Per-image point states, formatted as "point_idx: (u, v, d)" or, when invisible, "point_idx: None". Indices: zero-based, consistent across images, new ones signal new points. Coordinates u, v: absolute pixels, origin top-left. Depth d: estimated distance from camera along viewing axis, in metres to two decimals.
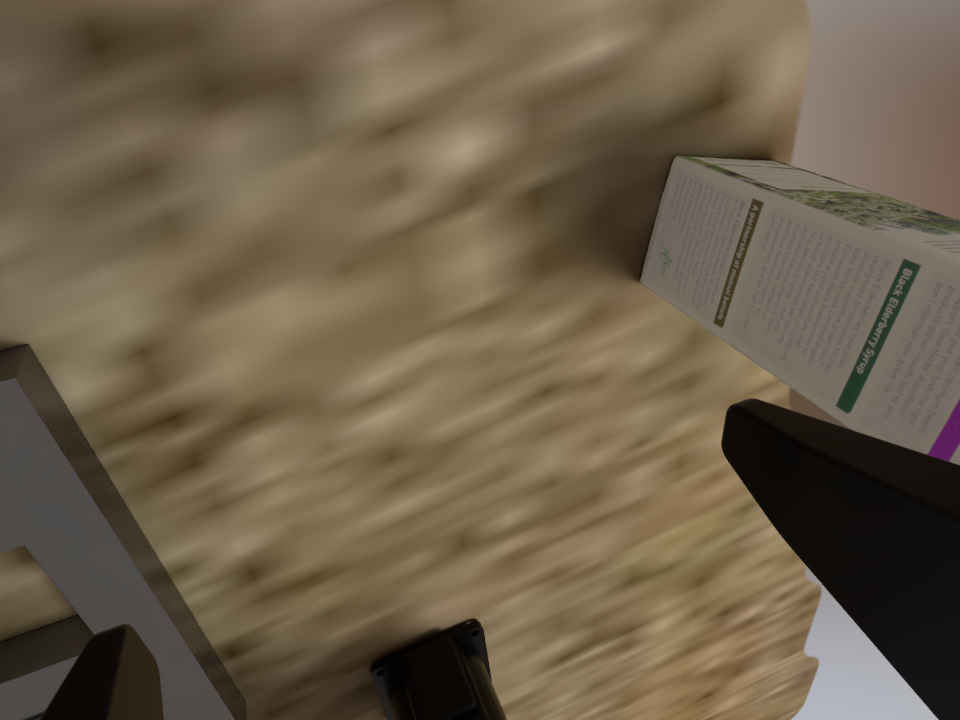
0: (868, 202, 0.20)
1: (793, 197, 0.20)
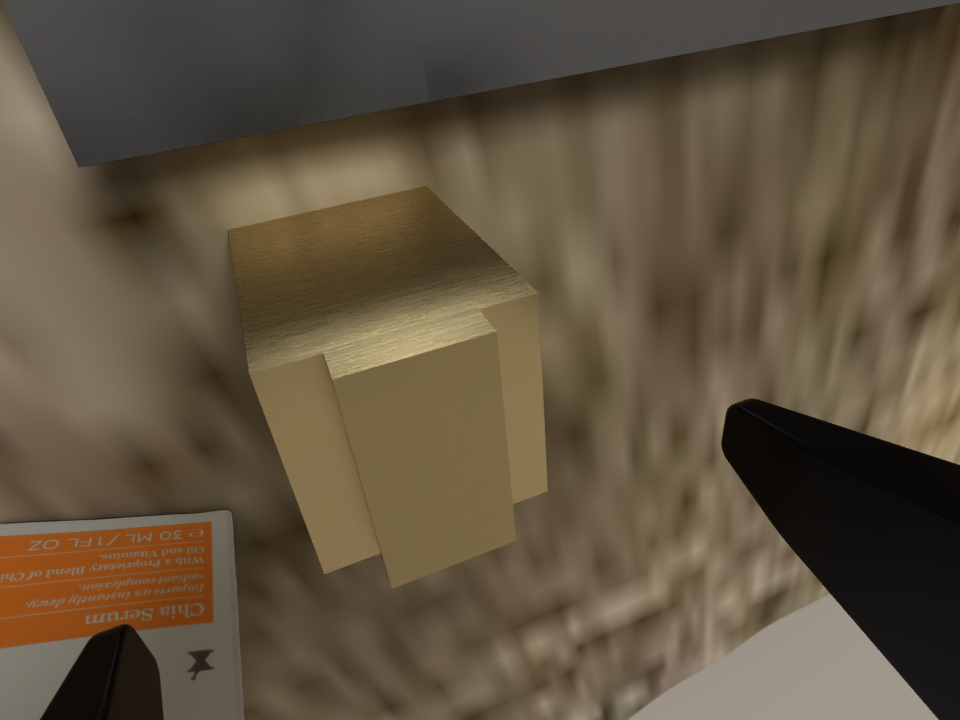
0: None
1: None
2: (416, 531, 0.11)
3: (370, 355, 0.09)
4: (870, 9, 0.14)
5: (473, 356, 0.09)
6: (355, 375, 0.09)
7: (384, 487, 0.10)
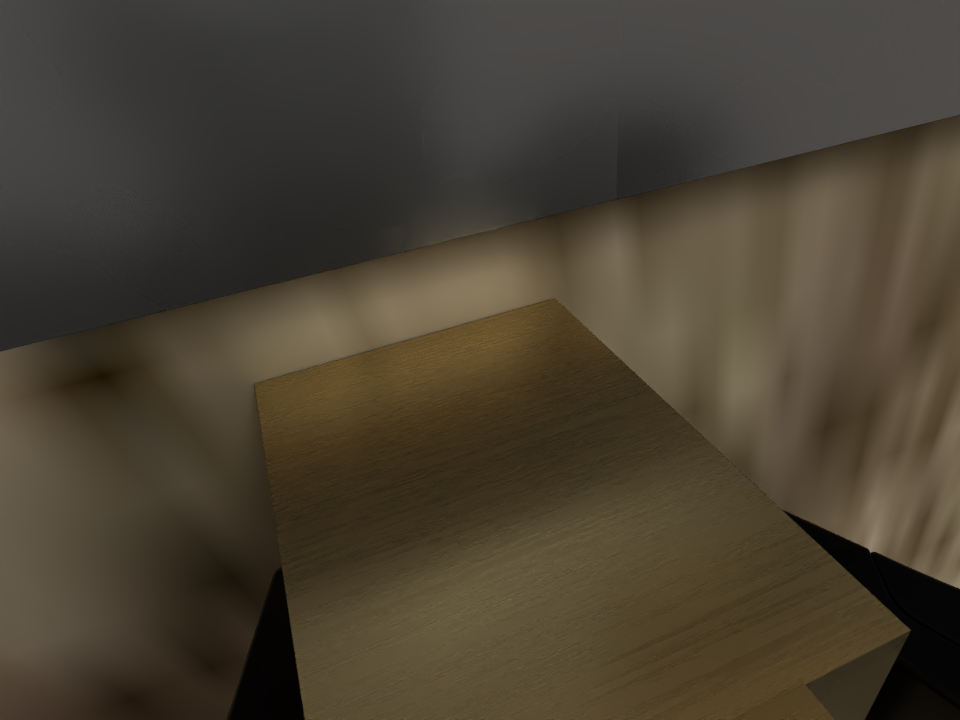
0: None
1: None
2: None
3: None
4: None
5: None
6: None
7: None
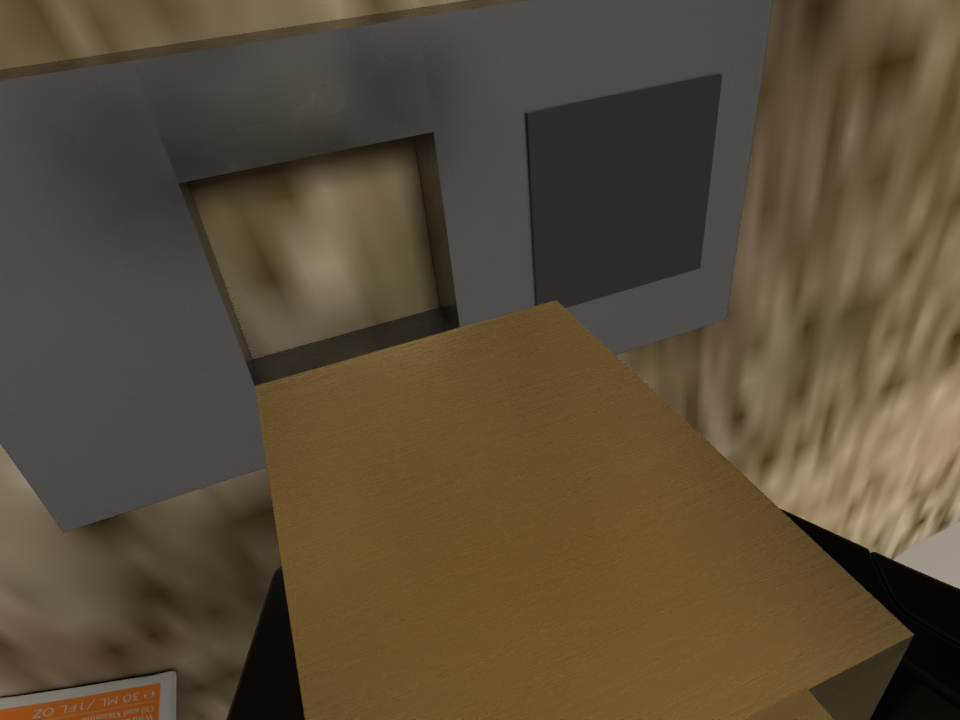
0: None
1: None
2: None
3: None
4: None
5: None
6: None
7: None
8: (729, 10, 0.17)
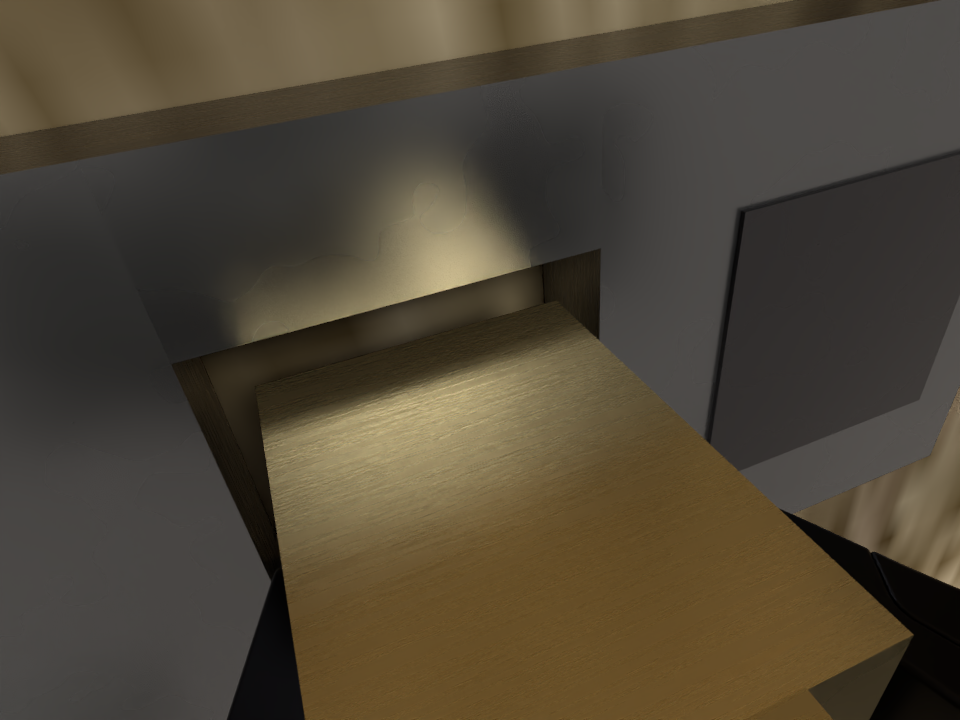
0: None
1: None
2: None
3: None
4: None
5: None
6: None
7: None
8: None
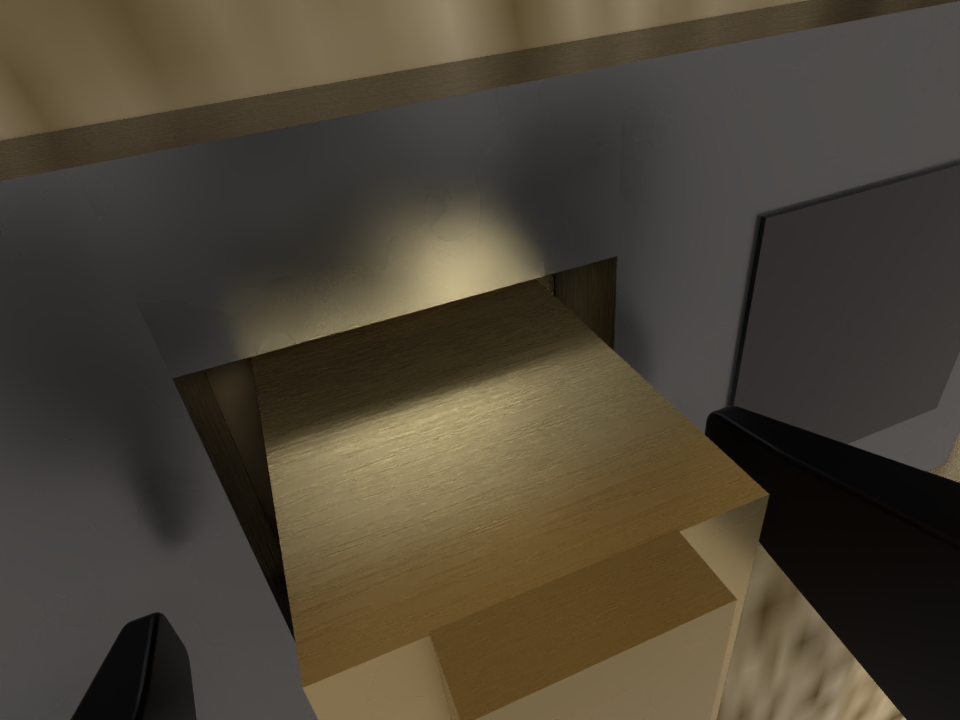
0: None
1: None
2: None
3: (519, 652, 0.05)
4: None
5: (693, 640, 0.05)
6: (500, 706, 0.05)
7: None
8: None
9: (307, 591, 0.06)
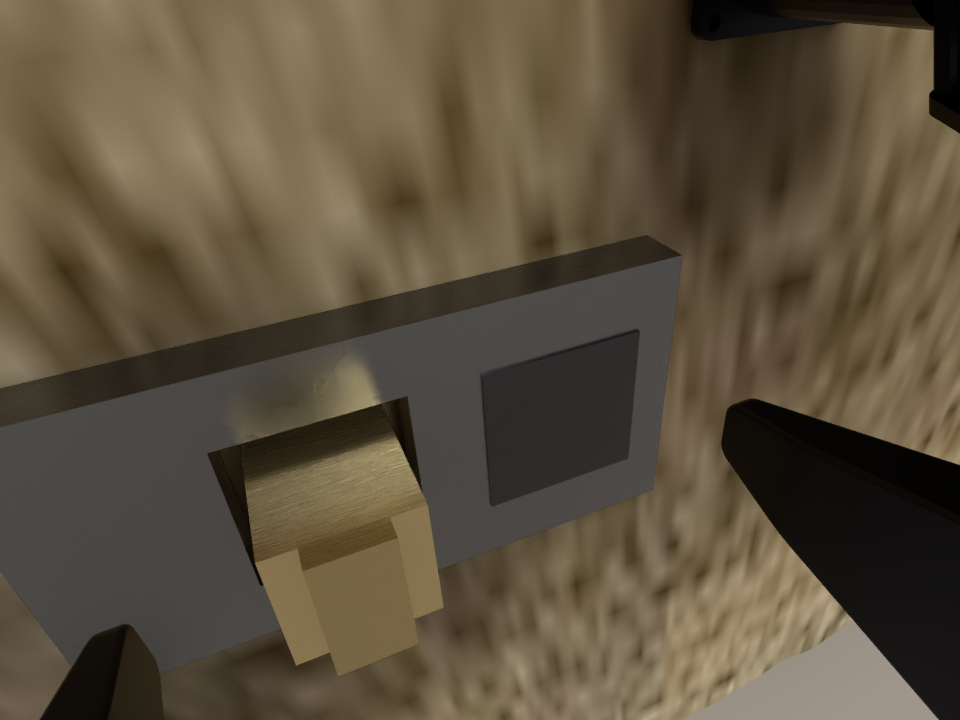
0: None
1: None
2: (353, 643, 0.17)
3: (324, 552, 0.16)
4: (541, 527, 0.26)
5: (384, 551, 0.16)
6: (315, 567, 0.15)
7: (332, 621, 0.16)
8: (643, 289, 0.21)
9: (258, 535, 0.16)
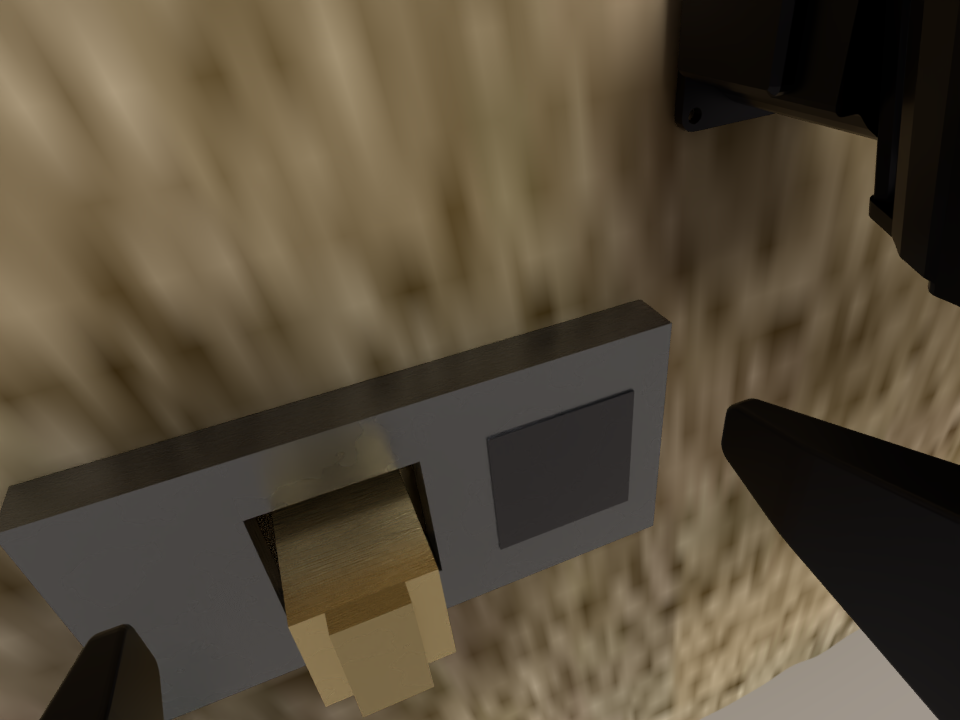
0: None
1: None
2: (375, 689, 0.19)
3: (348, 617, 0.18)
4: (548, 564, 0.28)
5: (400, 614, 0.18)
6: (340, 631, 0.17)
7: (356, 673, 0.19)
8: (636, 355, 0.23)
9: (290, 600, 0.18)
